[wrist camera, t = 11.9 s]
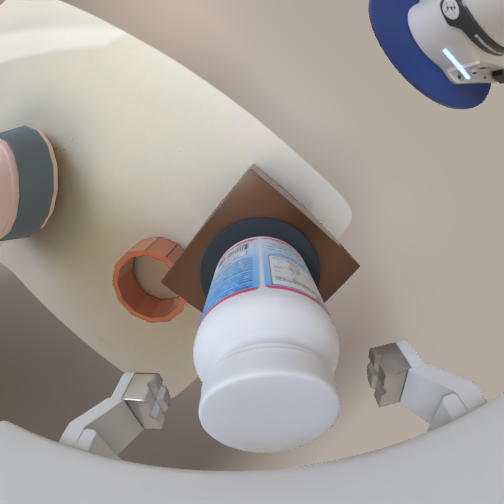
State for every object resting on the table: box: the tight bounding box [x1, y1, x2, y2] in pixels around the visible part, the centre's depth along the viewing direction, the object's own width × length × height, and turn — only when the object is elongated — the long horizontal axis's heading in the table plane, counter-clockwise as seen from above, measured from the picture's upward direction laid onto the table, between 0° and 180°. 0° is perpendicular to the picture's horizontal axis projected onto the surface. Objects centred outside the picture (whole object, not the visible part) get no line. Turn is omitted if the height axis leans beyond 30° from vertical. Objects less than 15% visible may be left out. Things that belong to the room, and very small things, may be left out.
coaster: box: [200, 217, 320, 299], centre depth 19 cm, size 8×8×1 cm
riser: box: [162, 164, 360, 313], centre depth 28 cm, size 10×10×19 cm
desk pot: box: [113, 237, 187, 323], centre depth 37 cm, size 11×11×6 cm
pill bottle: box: [193, 237, 341, 453], centre depth 13 cm, size 6×6×11 cm
